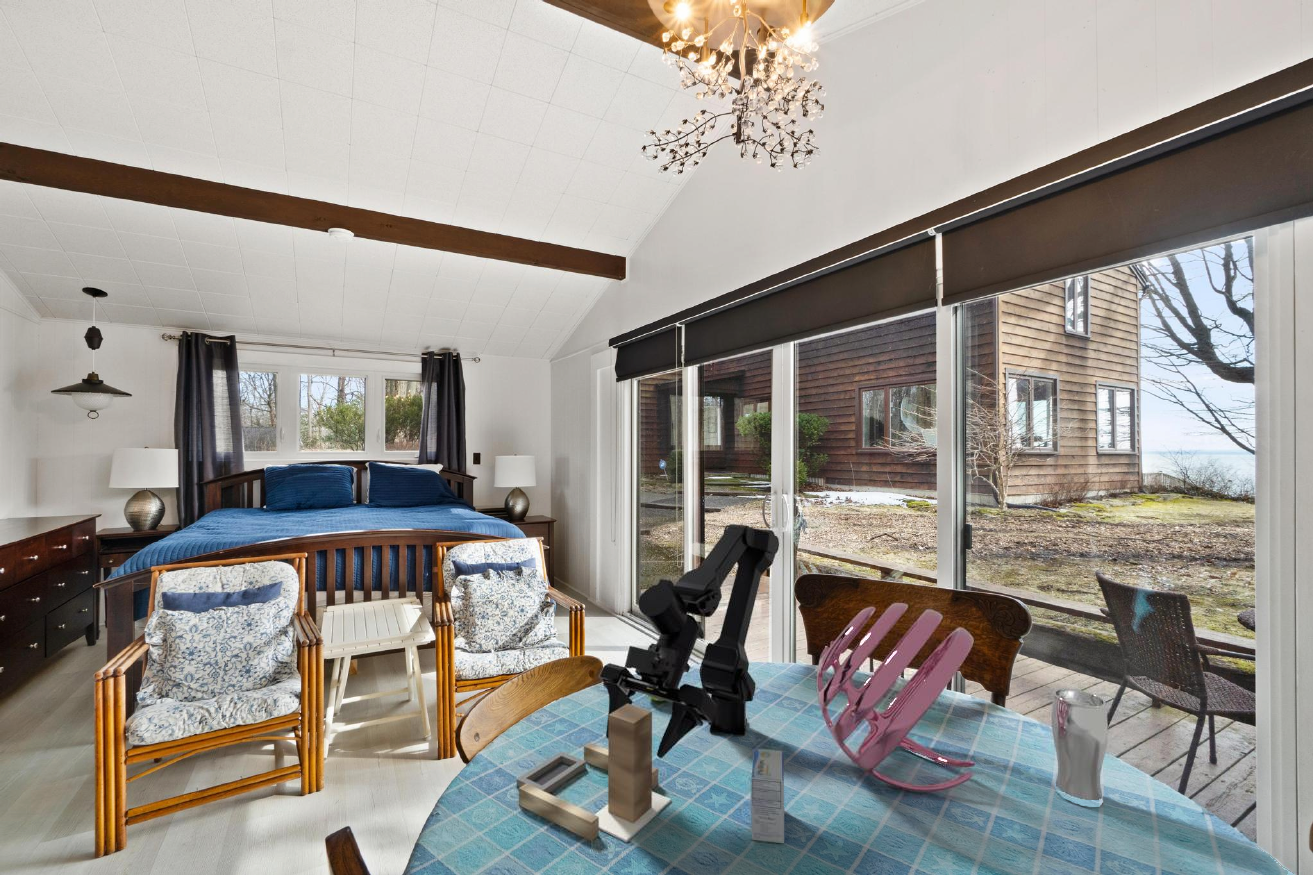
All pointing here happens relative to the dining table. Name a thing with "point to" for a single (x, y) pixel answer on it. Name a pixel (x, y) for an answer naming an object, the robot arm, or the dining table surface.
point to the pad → (625, 828)
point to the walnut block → (630, 762)
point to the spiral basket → (908, 703)
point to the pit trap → (553, 772)
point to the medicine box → (767, 796)
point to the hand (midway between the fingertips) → (632, 747)
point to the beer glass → (1079, 741)
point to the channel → (565, 811)
